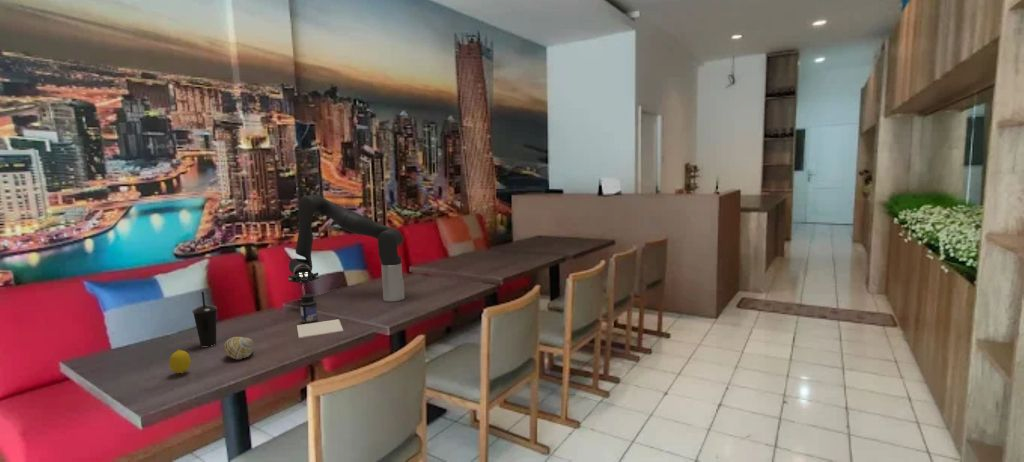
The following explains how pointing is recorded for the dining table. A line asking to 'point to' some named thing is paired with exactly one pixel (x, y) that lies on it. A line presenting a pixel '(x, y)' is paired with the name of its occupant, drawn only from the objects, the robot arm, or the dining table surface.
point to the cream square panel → (319, 328)
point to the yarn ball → (238, 347)
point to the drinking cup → (206, 323)
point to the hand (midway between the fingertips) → (304, 281)
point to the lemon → (180, 361)
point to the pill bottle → (308, 309)
